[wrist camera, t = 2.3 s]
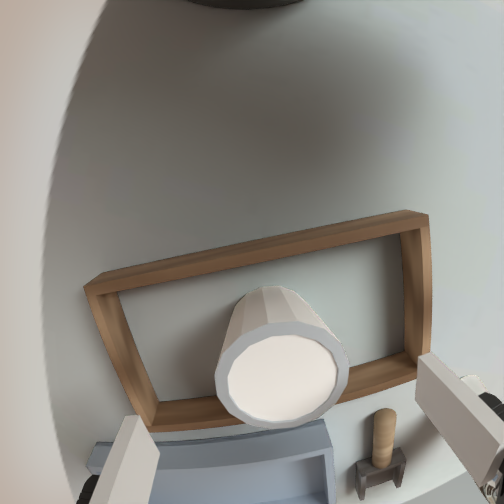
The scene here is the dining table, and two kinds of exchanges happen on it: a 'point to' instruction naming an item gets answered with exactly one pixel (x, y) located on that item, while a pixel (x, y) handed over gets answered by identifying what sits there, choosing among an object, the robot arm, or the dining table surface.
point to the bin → (242, 468)
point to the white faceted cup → (279, 361)
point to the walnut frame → (404, 222)
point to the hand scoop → (381, 456)
